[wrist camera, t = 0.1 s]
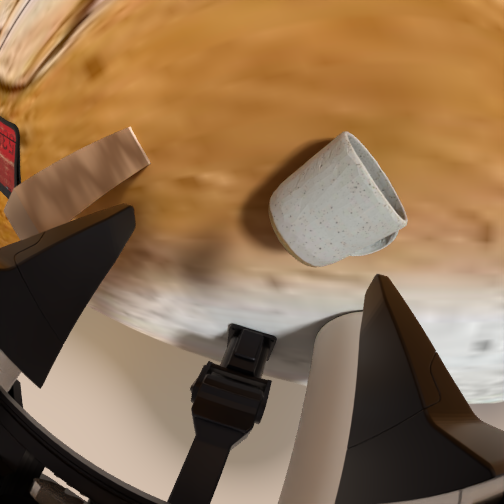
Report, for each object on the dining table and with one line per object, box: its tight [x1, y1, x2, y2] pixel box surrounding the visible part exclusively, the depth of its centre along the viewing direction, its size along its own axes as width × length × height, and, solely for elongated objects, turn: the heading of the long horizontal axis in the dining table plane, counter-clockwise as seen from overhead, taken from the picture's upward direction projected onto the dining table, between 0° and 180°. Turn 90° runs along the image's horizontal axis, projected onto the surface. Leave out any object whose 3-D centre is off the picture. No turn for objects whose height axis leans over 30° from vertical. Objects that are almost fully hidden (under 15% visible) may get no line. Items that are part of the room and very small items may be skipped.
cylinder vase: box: [278, 312, 363, 504], centre depth 23 cm, size 12×12×25 cm
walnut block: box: [4, 127, 150, 240], centre depth 20 cm, size 4×4×14 cm
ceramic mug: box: [269, 132, 407, 267], centre depth 19 cm, size 11×8×8 cm
